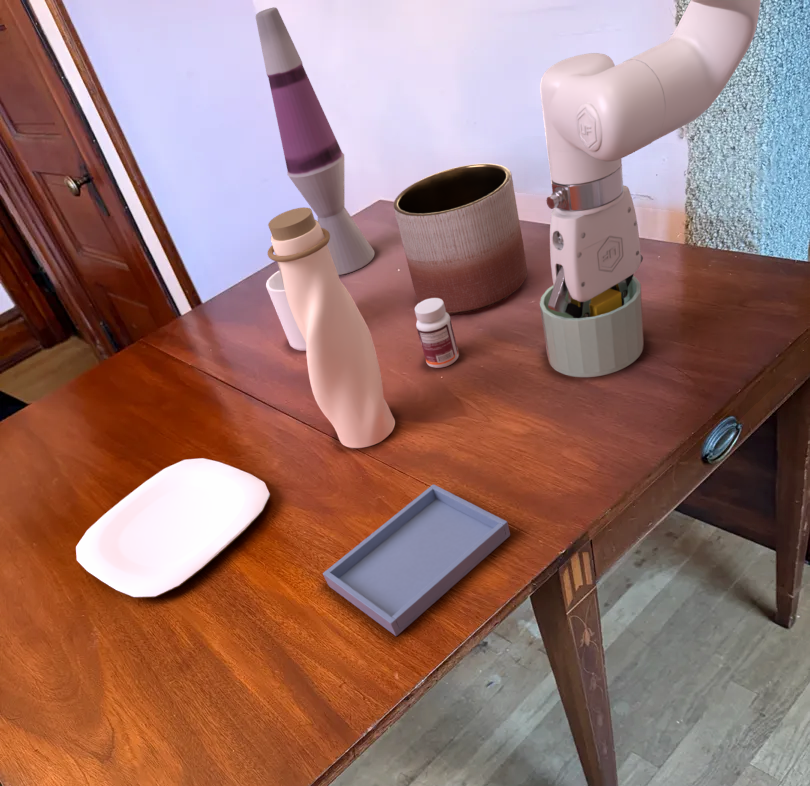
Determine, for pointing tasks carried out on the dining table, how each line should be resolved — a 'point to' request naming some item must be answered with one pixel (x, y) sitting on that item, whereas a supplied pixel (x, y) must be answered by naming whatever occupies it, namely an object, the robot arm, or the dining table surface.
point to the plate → (171, 527)
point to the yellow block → (605, 302)
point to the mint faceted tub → (594, 337)
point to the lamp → (310, 144)
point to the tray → (416, 557)
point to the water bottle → (330, 331)
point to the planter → (463, 237)
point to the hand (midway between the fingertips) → (600, 333)
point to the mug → (285, 312)
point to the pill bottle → (436, 333)
